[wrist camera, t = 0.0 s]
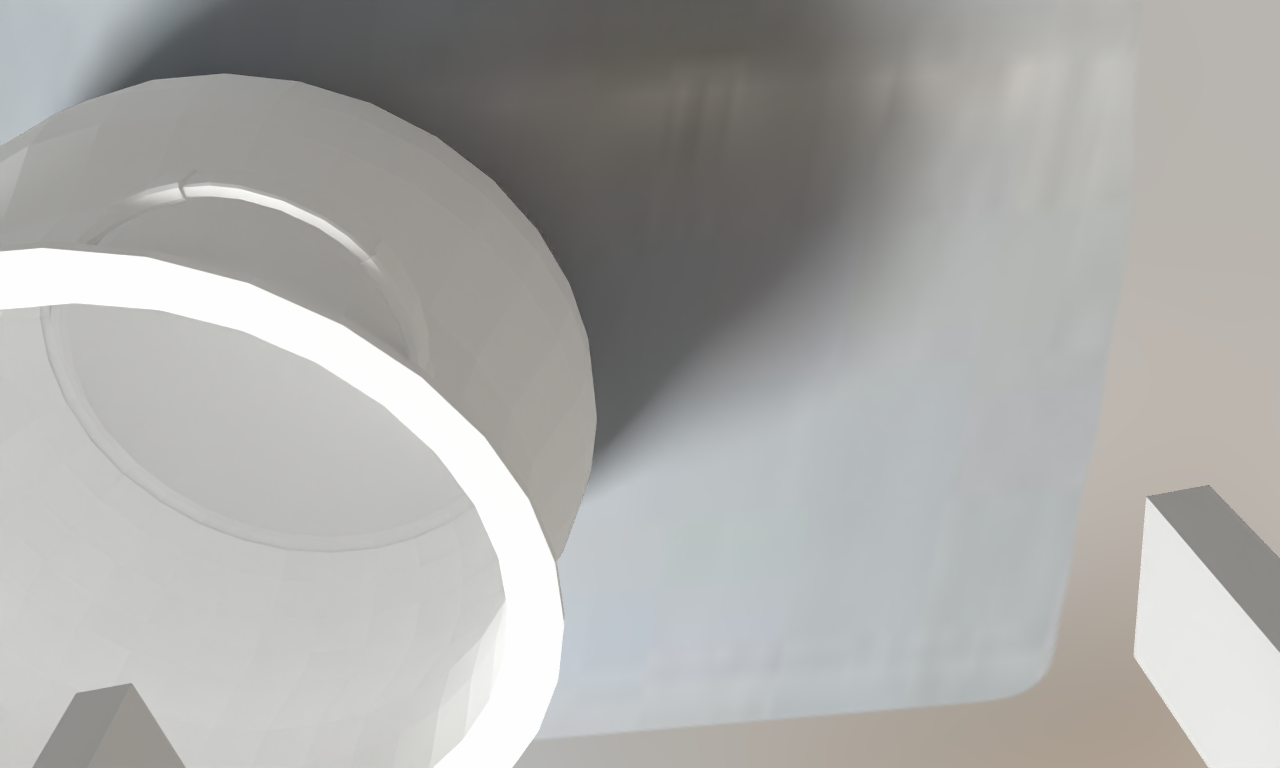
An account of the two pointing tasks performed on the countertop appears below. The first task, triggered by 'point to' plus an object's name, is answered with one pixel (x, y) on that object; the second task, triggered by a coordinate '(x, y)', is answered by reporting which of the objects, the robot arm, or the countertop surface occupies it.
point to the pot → (281, 432)
